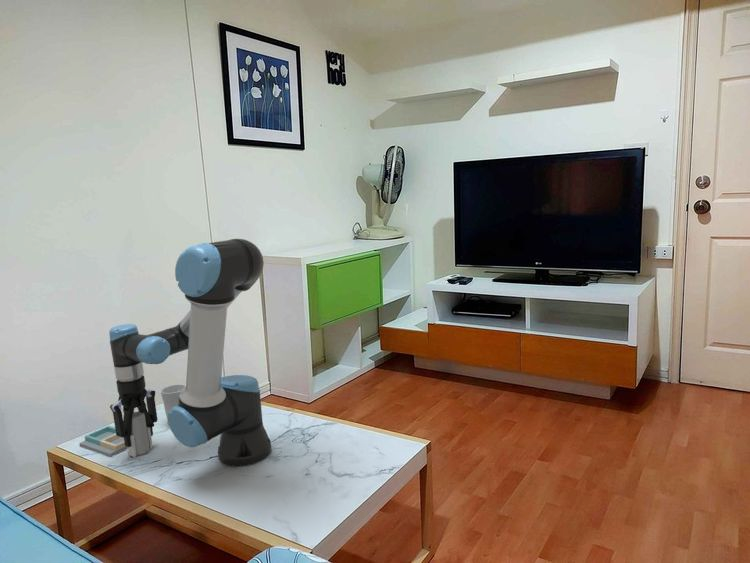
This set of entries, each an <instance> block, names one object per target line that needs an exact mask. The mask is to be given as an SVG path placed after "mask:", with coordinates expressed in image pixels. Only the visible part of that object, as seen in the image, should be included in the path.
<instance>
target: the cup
mask: <svg viewBox="0 0 750 563" xmlns="http://www.w3.org/2000/svg"><path fill="white" fill-rule="evenodd" d="M184 387H186V384H180V383H179V384H178V383H177V384H172V385H168V386H165V387H163V388H162V389H160V394H161V399H162V401H163V406H164V412H165V416H166V422H167V426H168V427H169V423H168V413H169V411H170V410H171V409H172V408H173V407H174V406H178V404H179V393H180V391H181V390H182V389H183V388H184Z"/></svg>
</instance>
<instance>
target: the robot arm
mask: <svg viewBox="0 0 750 563" xmlns="http://www.w3.org/2000/svg"><path fill="white" fill-rule="evenodd" d="M264 261H265V260H264V257H263V254H262V252H261V250H260V248H259V247H257V245H255V244H254V243H253V242H252V241H249V240H247V239H243V238H233V239H232V238H231V239H228V240H220V241H214V242H209V243H208V242H204V243H203V242H201V243H199V244H196V245H192V246H189V247H187V248H186V249H184V250H183V251H182V252H181V253H180V254H179V256H178V257H177V260H176V263H175V268H174V269H175V270H174V276H175V280H176V281H177V283H178V284H177V286H178V288H179V290H180V291H181V292H182V293H183V294H184V297H185V299H186V301H188V302H189V303H190V309H189V311H188V312H187V313H186V314H185V316H184V317H183V318H182V319H181V320H180V321H179V323H178V324H177V325H176V326H173V327H170V328H165V329H164V330H163V329H162V330H160V331H156V332H153V333H150V334H140V332H139V330H138V327H137V325H136V324H133V323H126V324H119V325H116V326H113V327H111V328H110V329H109V331H108V332H109V344H110V345H109V346H110V350H111V357H112V362H113V369H114V375H115V379H116V382H115V383H116V389H117V393H118V401H117V402H116V403H114V404H110V405H109V408H110V410H111V411H112V412H111V413H112V416H113V422H114V427H115V430H116V435H117V436H119V437H122V438H123V437H124V443H125V446H126V447H128V449H127V452H128V456H131V457H133V458H136V457H137V456H138V455H137V454H136V447H135V440H134V435H131V428H132V416H133V413H134V412H135V409H137V410H138V411H139V412H142V413H144V415H145V420H146V427H147V434H148V441H149V448H150V449H149V450H151V449H153V448H154V445H153V439H152V437H153V436H154V429H153V428H154V426H155V423H157V422H158V414H157V413H158V412H157V406H156V400H155V396H156V391H155V390H153V389H146V378H145V375H144V374H145V372H144V371H145V370H144V367H143V365H144V364H147V365H159V364H162V363H164V362H165V361H166V360H167V359H168V358H169V357H170V356H172V355H175V354H177V353H181V352H184V351H187V362H186V363H187V364H186V365H187V366H186V377H185V380H186V381H185V386H186V387H184V388H183V389H182V390H181V391H180V393H179V404H178V406H174V407H173V408H172V409H171V410H170V411H169V413H168V422H167V424H168V423H169V426H168V427H169V429H170V431H171V433H172V435H173V436H174V438H175V439H176V441H178V442H179V443H180V444H181V445H183V446H185V447H187V448H196V447H199V446H201V445H203V444H206V443H207V442H210V441H211V440H212V439H214V438H217V437H218V436H219V435H220V438H219V439H220V440H219V446H218V449H217V459H218V461H219V462H220V463H221V464H223V465H224V466H227V467H246V466H250V465H253V464H257V463H259V462H261V461H262V460H265V459H266V458H267V457H268V456H269V455H270V454H271V452H272V450H273V449H272V443H271V439H270V438H269V435H268V433H267V431H266V429H265V426H264V423H263V422H264V421H263V415H262V414H263V413H262V400H261V390H260V387H259V386H260V385H259V381H258V379H257V378H256V377H254V376H251V375H245V374H243V375H242V374H236V375H235V374H233V375H226V376H223V377H222V375H223V362H224V350H225V336H226V329H227V328H226V326H227V312H228V308H229V306H231V305H232V304H233V302H234V301H235V300H236V299H237V298H238V296H239V295H240V294H241V293H242V292H246V291H248V290H250V289H252V287H253V286H254V285H255V283H256V282H257V281H258V280H259V279H260V277H261V275H262V273H263V270H264V265H265V264H264V263H265V262H264ZM143 363H144V364H143Z"/></svg>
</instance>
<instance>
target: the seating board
mask: <svg viewBox="0 0 750 563" xmlns="http://www.w3.org/2000/svg"><path fill="white" fill-rule="evenodd" d="M78 444H79V447H81V448H84V449H87V450H90V451H93V452H95V453H98V454H101V455H103V456H106V457H110V458H111V457H114V456H116V455H118V454H120V453H122V452H124V451H126V450H128V447H126V446H125V443H124V437H123V438H122V437H119V436H117V435H116V430H115V426H111V425H106V426H104V427H102V428H100V429H98V430H95V431H93V432H91V433H89V434H86V435H84V440H82V441H81V442H79V443H78Z"/></svg>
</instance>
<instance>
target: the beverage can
mask: <svg viewBox="0 0 750 563" xmlns="http://www.w3.org/2000/svg"><path fill="white" fill-rule="evenodd" d="M131 435H134V440H135V447H136V454H137V456H142V455H144V454H147V453H149V451H150V450H151V449H150V448H149V441H148V434H147V427H146V420H145V415H144V413H142V412H139V410H138V411H134V413H133V416H132V428H131Z"/></svg>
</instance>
